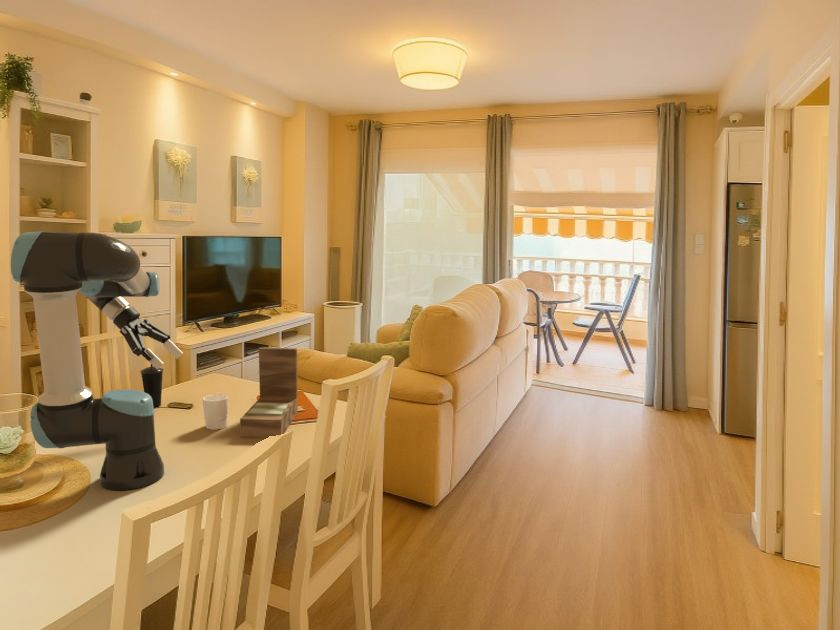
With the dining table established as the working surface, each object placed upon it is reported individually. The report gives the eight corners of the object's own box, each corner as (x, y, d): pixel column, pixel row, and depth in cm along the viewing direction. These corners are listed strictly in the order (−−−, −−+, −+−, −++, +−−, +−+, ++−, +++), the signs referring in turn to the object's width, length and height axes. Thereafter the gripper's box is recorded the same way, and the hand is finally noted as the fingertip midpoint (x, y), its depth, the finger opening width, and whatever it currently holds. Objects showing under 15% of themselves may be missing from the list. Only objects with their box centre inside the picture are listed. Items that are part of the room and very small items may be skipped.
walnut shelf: (281, 438, 177) (280, 365, 174) (240, 437, 177) (238, 363, 174) (297, 413, 201) (296, 348, 197) (261, 412, 201) (260, 347, 197)
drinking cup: (169, 405, 206) (166, 352, 203) (150, 410, 200) (147, 356, 197) (157, 401, 210) (154, 349, 207) (137, 406, 204) (134, 353, 201)
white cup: (220, 431, 182) (219, 402, 180) (198, 429, 183) (197, 400, 182) (233, 423, 189) (232, 395, 188) (212, 421, 191) (211, 393, 189)
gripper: (134, 315, 190) (180, 359, 192) (90, 329, 166) (143, 379, 168) (149, 300, 189) (194, 344, 192) (106, 312, 165) (159, 362, 167)
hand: (170, 361), depth 180 cm, fingers open, 13 cm apart
